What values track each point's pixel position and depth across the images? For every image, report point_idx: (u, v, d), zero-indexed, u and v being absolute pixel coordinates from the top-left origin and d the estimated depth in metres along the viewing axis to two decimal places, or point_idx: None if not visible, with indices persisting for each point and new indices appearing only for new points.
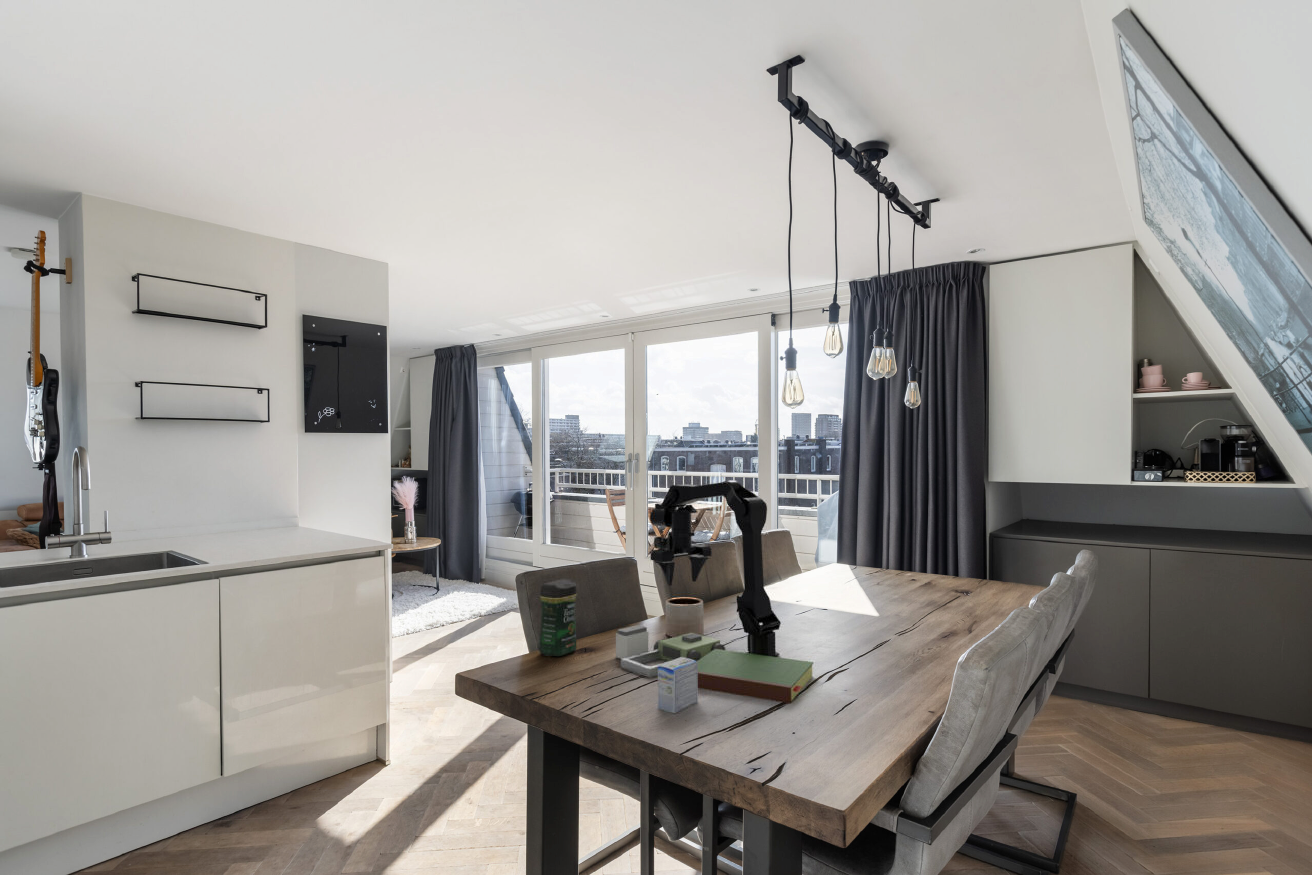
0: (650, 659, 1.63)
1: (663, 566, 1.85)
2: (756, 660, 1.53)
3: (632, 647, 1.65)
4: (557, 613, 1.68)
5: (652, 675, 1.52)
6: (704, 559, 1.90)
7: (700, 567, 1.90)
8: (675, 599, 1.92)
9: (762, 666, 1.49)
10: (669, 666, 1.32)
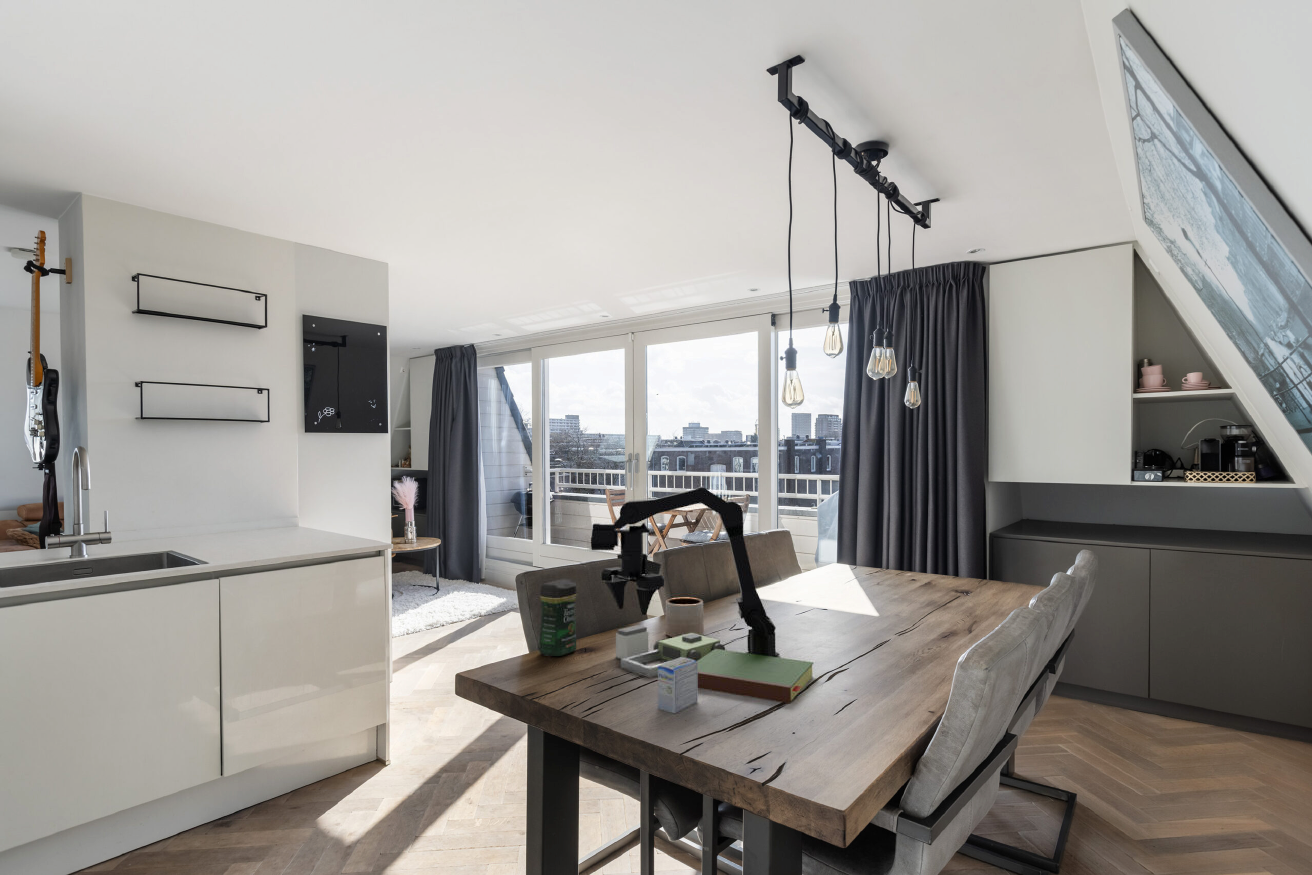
0: (650, 659, 1.63)
1: None
2: (756, 660, 1.53)
3: (632, 647, 1.65)
4: (557, 613, 1.68)
5: (652, 675, 1.52)
6: (639, 590, 1.62)
7: (639, 599, 1.63)
8: (675, 599, 1.92)
9: (762, 666, 1.49)
10: (669, 666, 1.32)
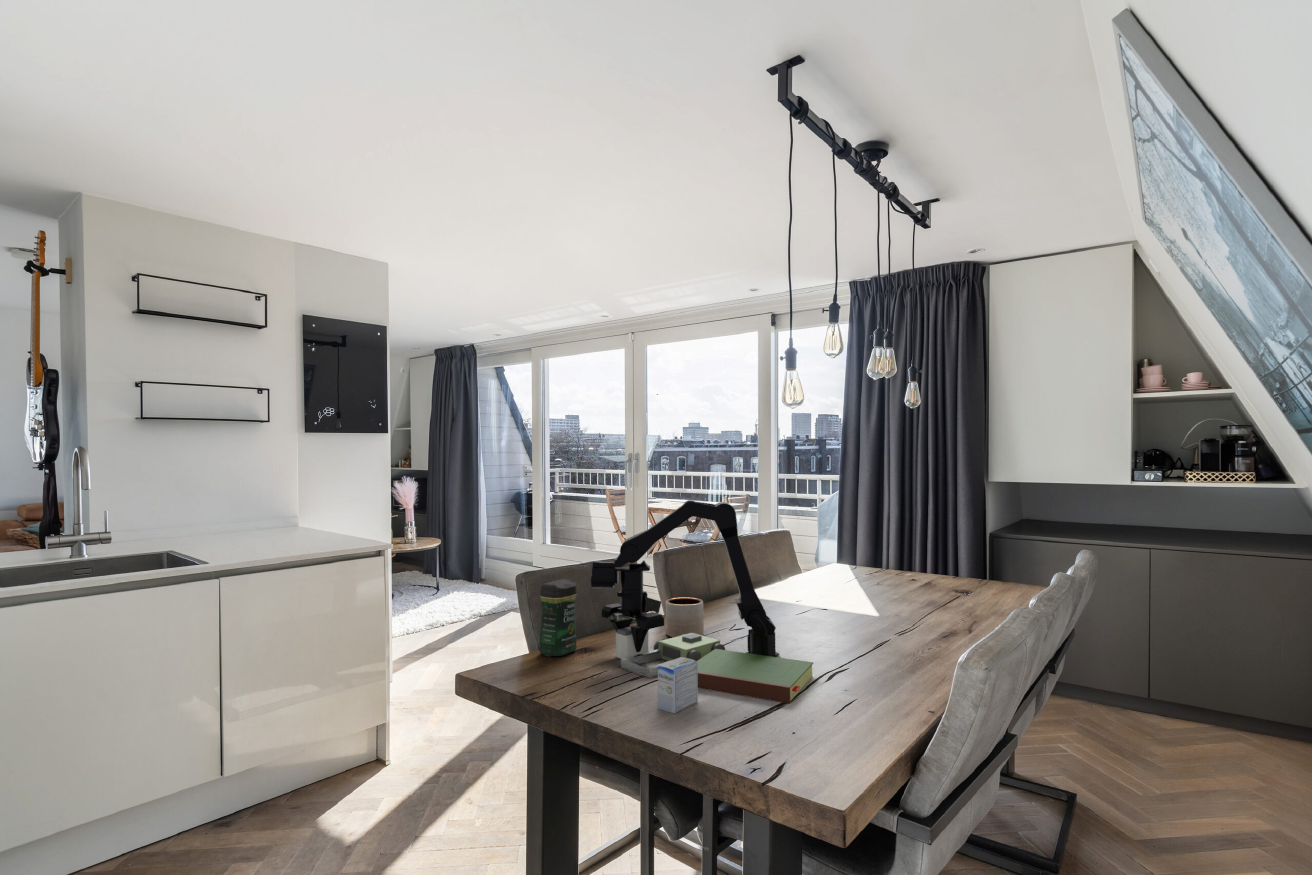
0: (650, 659, 1.63)
1: None
2: (755, 660, 1.53)
3: (632, 647, 1.65)
4: (557, 613, 1.68)
5: (652, 675, 1.52)
6: (633, 628, 1.63)
7: (633, 636, 1.64)
8: (675, 599, 1.92)
9: (762, 666, 1.49)
10: (669, 666, 1.32)
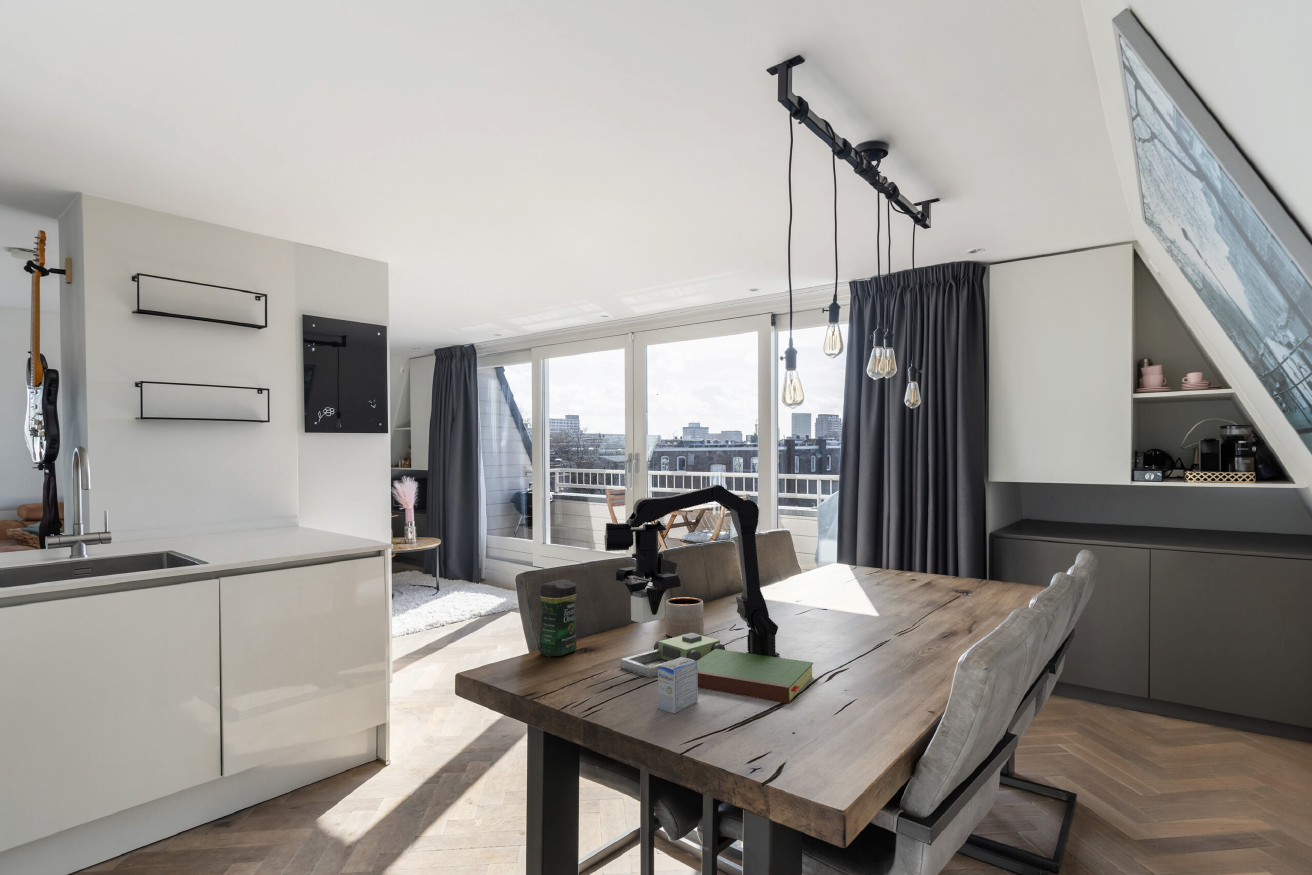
0: (650, 659, 1.63)
1: None
2: (755, 660, 1.53)
3: (647, 609, 1.60)
4: (557, 613, 1.68)
5: (652, 675, 1.52)
6: (649, 590, 1.58)
7: (649, 598, 1.59)
8: (675, 599, 1.92)
9: (762, 666, 1.49)
10: (669, 666, 1.32)
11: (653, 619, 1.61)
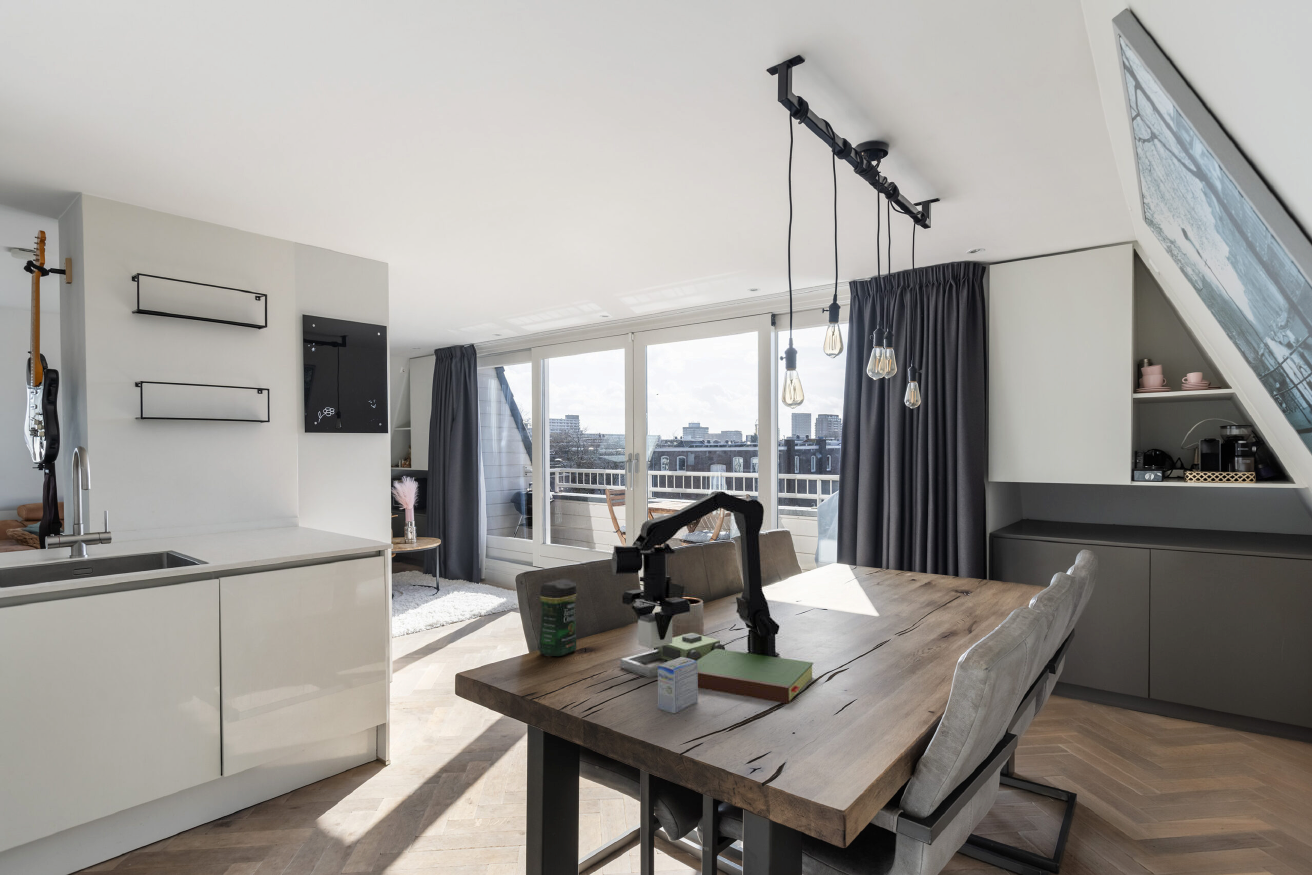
0: (650, 659, 1.63)
1: None
2: (755, 660, 1.53)
3: (655, 634, 1.56)
4: (557, 613, 1.68)
5: (652, 675, 1.52)
6: (657, 615, 1.55)
7: (657, 623, 1.56)
8: None
9: (762, 666, 1.49)
10: (669, 666, 1.32)
11: (661, 644, 1.58)
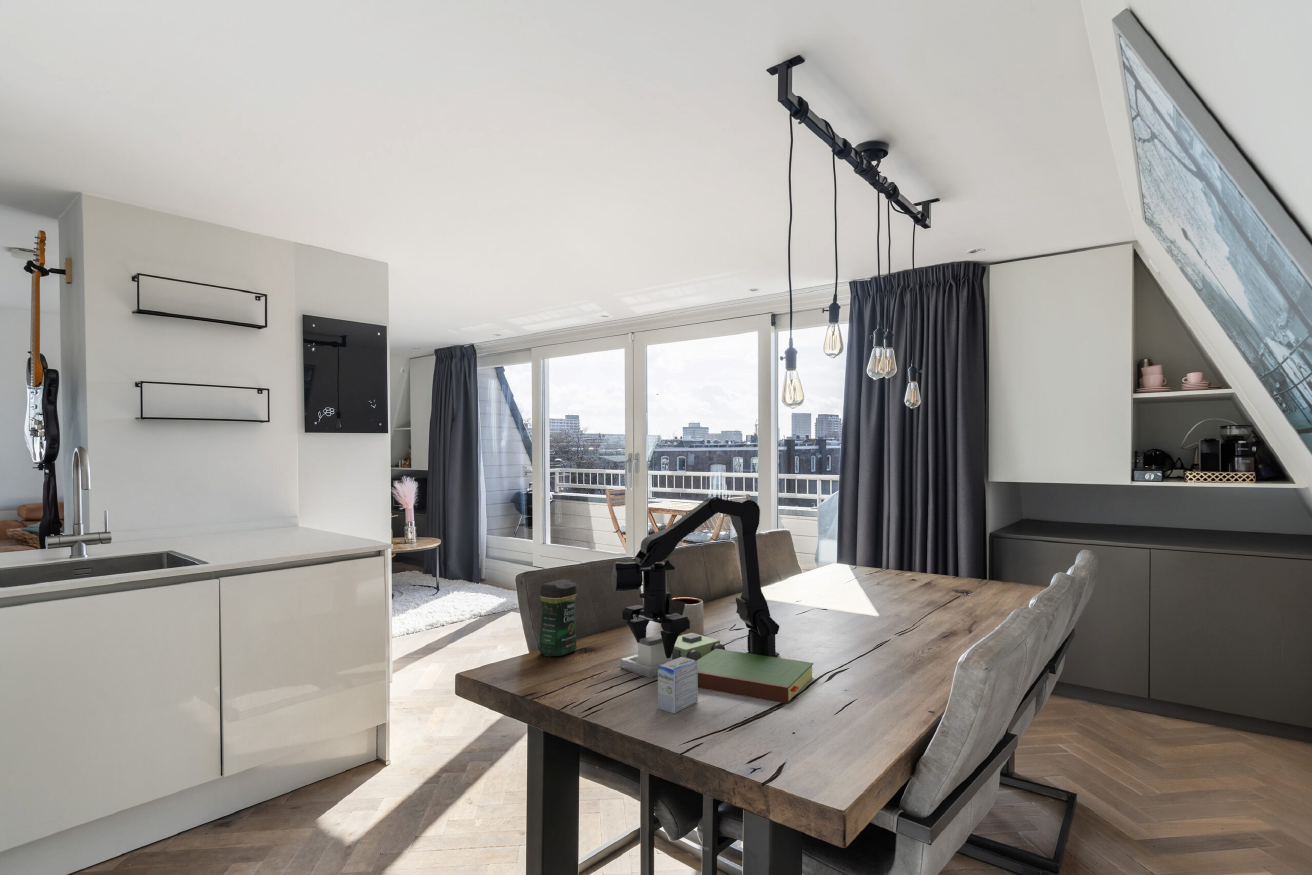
0: None
1: None
2: (755, 660, 1.53)
3: (655, 658, 1.56)
4: (557, 613, 1.68)
5: (652, 675, 1.52)
6: (663, 633, 1.53)
7: (663, 642, 1.54)
8: (675, 599, 1.92)
9: (761, 666, 1.49)
10: (669, 666, 1.32)
11: None
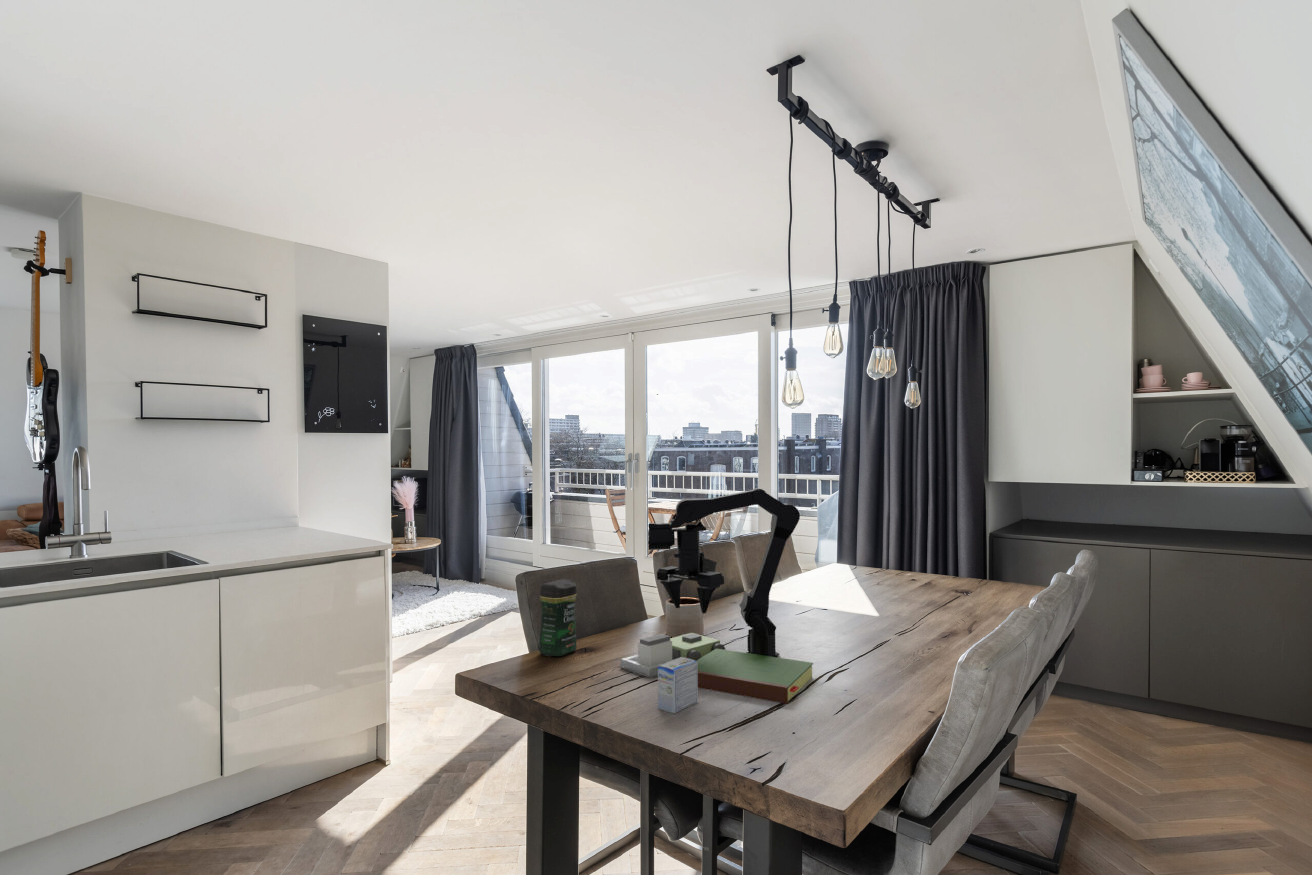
0: None
1: None
2: (755, 660, 1.53)
3: (655, 658, 1.56)
4: (557, 613, 1.68)
5: (652, 675, 1.52)
6: (700, 589, 1.61)
7: (700, 597, 1.62)
8: None
9: (761, 666, 1.49)
10: (669, 666, 1.32)
11: None
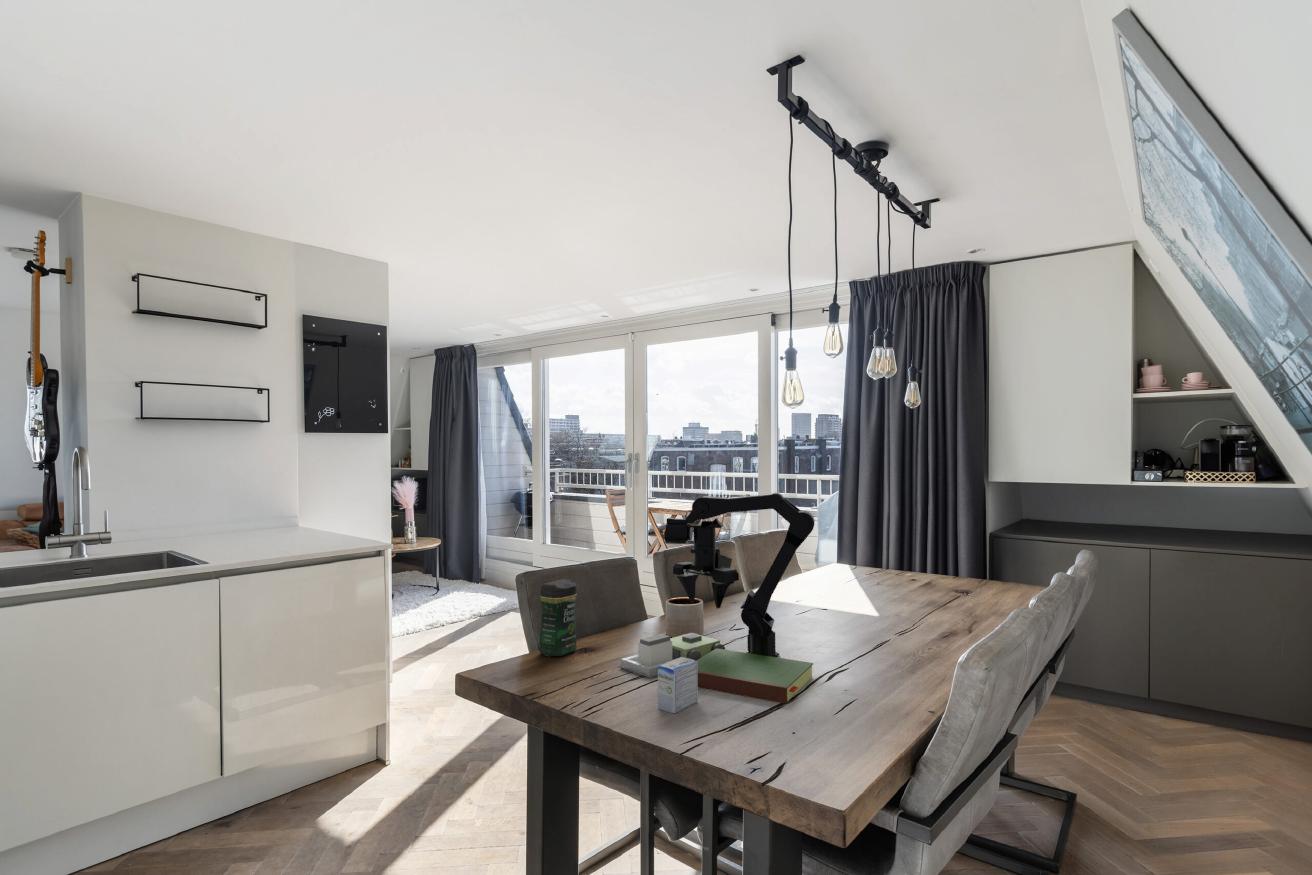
0: None
1: None
2: (755, 660, 1.53)
3: (655, 658, 1.56)
4: (557, 613, 1.68)
5: (652, 675, 1.52)
6: (714, 584, 1.65)
7: (714, 593, 1.66)
8: (675, 599, 1.92)
9: (761, 666, 1.49)
10: (669, 666, 1.32)
11: None
